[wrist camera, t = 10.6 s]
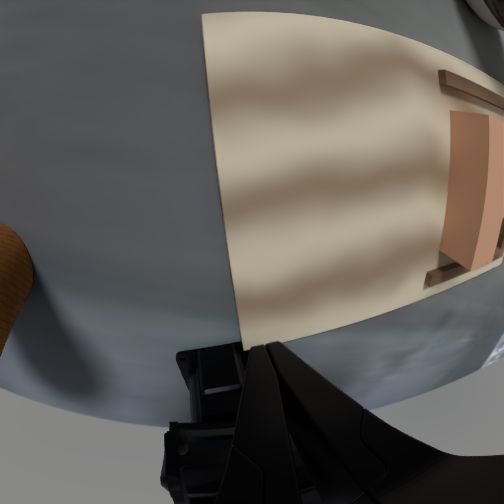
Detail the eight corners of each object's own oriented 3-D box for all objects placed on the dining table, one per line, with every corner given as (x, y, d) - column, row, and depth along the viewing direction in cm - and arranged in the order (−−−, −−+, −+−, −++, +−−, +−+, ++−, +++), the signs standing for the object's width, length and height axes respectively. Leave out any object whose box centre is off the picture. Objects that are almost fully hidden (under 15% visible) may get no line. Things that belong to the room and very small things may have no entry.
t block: (497, 232, 22) (521, 246, 18) (439, 250, 20) (470, 271, 16) (507, 128, 16) (535, 136, 13) (449, 110, 15) (488, 115, 11)
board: (496, 260, 25) (505, 266, 24) (241, 341, 20) (246, 358, 19) (511, 93, 16) (522, 95, 14) (201, 20, 11) (202, 8, 9)
